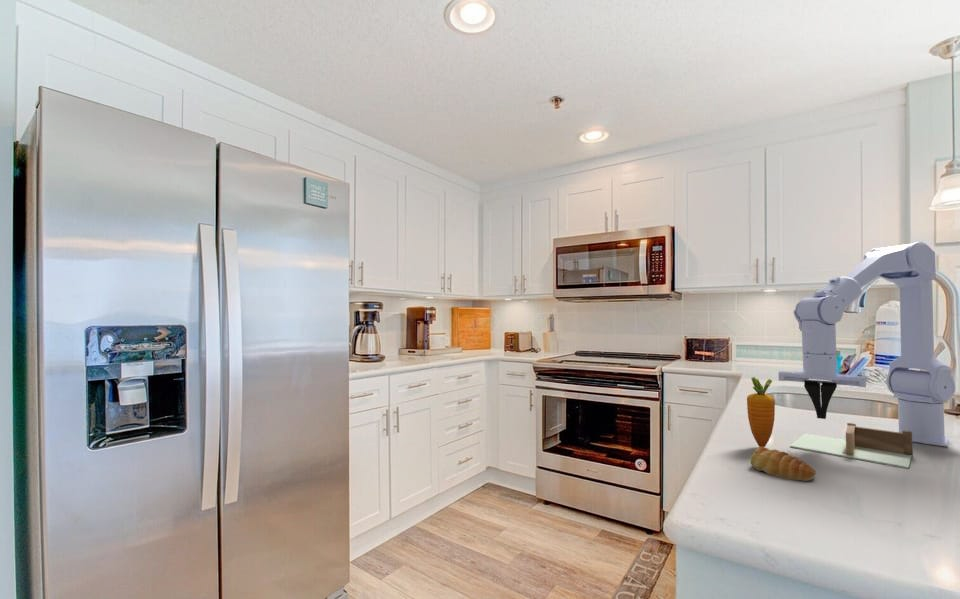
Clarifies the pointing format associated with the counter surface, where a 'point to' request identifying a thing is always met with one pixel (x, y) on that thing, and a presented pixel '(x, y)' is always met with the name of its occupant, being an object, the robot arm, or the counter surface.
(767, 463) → the pastry
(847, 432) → the hinged panel
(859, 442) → the fence fixed
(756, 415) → the carrot
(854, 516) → the counter surface
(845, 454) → the card
